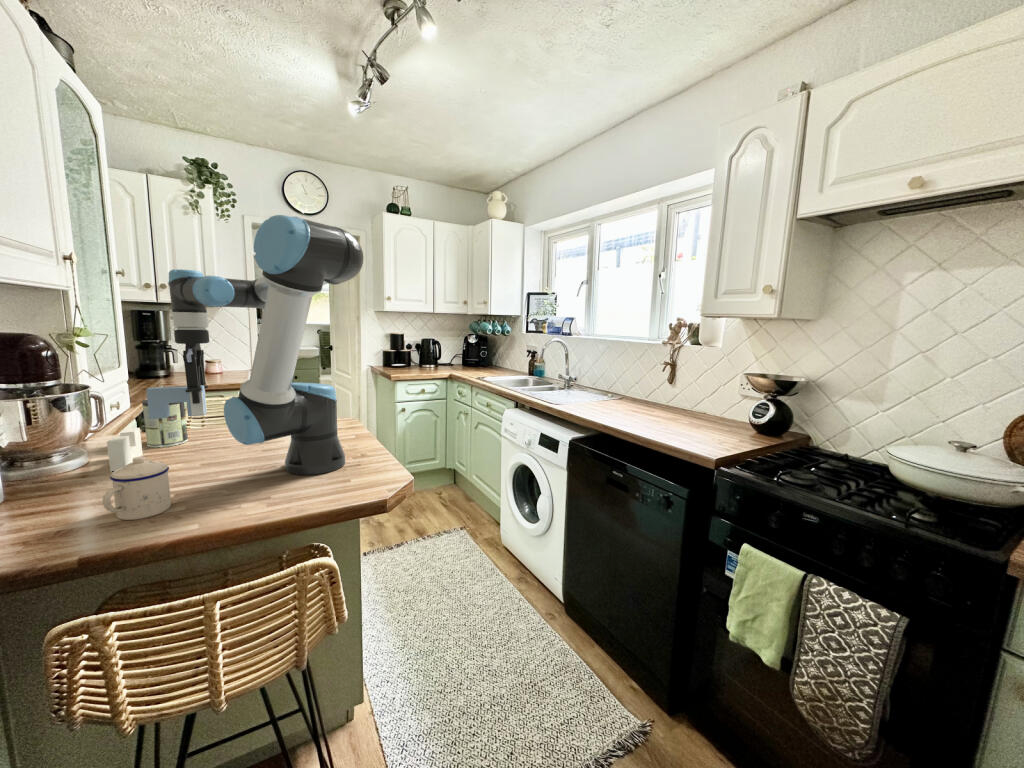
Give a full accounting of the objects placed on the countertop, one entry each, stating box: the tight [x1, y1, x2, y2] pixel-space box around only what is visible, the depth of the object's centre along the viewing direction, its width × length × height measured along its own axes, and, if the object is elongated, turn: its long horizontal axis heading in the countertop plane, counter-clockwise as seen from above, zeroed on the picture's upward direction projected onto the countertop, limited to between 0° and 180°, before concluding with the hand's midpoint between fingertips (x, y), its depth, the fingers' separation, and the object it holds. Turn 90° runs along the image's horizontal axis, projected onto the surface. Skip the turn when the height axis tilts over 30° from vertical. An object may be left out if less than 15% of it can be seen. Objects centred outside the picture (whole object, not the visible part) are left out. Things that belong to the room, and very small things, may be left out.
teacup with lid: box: [102, 455, 172, 521], centre depth 86 cm, size 12×9×12 cm
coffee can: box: [141, 398, 189, 448], centre depth 132 cm, size 10×10×14 cm
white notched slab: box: [106, 427, 144, 473], centre depth 115 cm, size 14×3×8 cm, turn 27°
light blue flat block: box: [146, 385, 208, 419], centre depth 115 cm, size 3×12×8 cm, turn 117°
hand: (199, 413), depth 118 cm, fingers closed on light blue flat block, 3 cm apart
